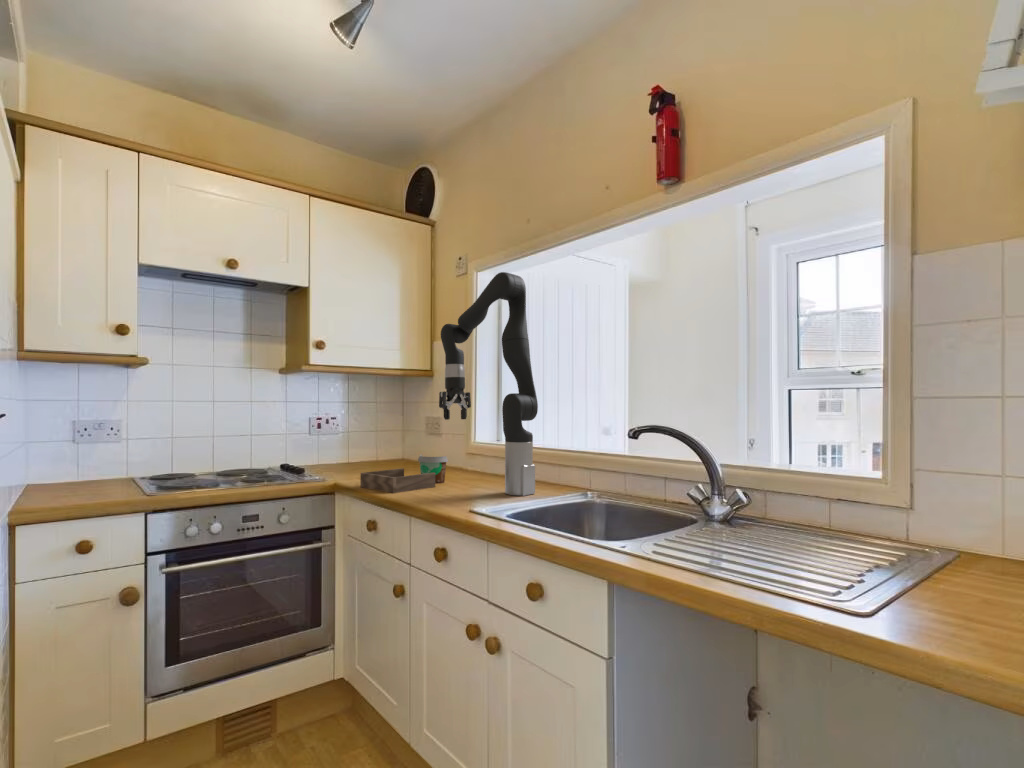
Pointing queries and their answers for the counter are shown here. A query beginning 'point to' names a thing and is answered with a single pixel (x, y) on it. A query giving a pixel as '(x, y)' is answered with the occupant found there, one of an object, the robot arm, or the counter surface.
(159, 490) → the counter surface
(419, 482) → the walnut box
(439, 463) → the food container
